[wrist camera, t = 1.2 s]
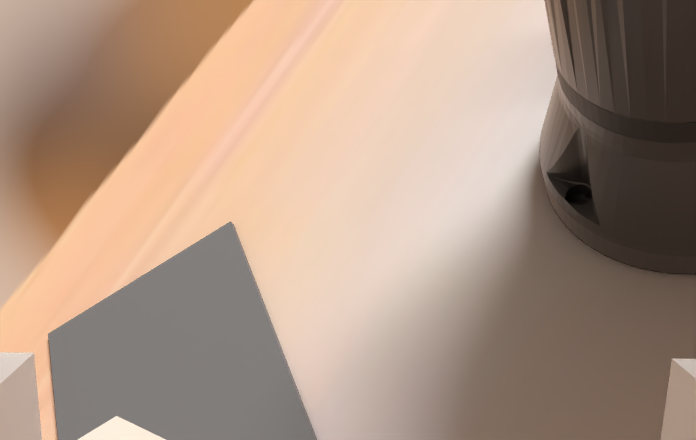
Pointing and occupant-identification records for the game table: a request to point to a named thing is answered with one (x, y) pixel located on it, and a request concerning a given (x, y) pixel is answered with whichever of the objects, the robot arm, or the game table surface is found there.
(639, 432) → the game table surface
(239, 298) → the mat
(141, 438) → the tile
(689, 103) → the robot arm
